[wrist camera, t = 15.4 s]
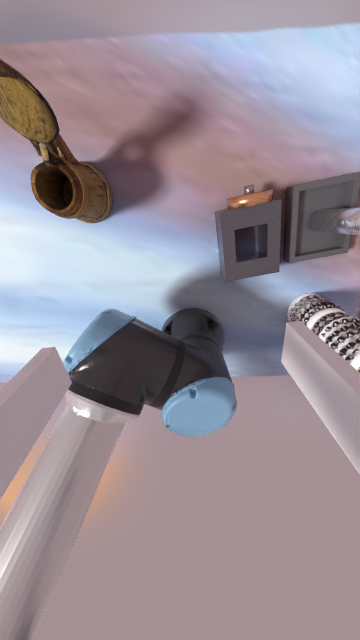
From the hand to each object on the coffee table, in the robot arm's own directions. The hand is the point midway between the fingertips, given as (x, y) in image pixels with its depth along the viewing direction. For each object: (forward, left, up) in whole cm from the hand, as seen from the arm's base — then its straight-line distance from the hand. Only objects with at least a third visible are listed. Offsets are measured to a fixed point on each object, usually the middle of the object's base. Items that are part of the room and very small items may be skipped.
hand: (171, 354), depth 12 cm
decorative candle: (-18, -27, -34) cm, 47 cm away
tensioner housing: (+1, -14, -34) cm, 36 cm away
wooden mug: (+15, +13, -34) cm, 39 cm away
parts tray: (+1, -27, -34) cm, 43 cm away
